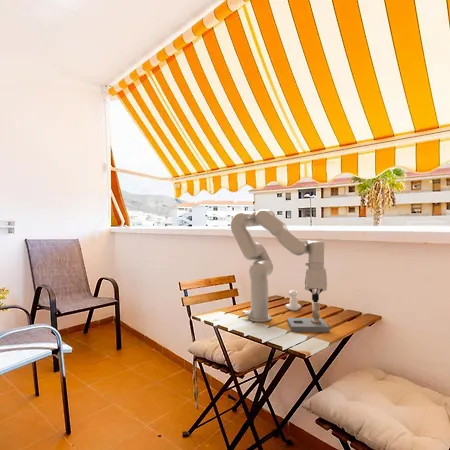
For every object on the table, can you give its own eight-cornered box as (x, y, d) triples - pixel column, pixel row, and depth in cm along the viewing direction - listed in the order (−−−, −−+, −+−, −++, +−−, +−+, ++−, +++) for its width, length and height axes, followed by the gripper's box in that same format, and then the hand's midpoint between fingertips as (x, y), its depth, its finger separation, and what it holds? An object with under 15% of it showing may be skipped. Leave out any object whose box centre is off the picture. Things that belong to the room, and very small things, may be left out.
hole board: (291, 331, 155) (291, 326, 155) (287, 322, 169) (287, 317, 169) (329, 332, 154) (329, 326, 154) (321, 322, 168) (321, 317, 168)
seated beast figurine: (301, 307, 197) (301, 288, 197) (302, 311, 188) (302, 291, 188) (285, 307, 198) (285, 287, 198) (286, 311, 190) (286, 290, 190)
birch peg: (313, 328, 159) (313, 304, 159) (311, 325, 163) (311, 302, 163) (320, 328, 159) (320, 304, 159) (318, 326, 163) (318, 302, 163)
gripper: (302, 266, 157) (301, 303, 158) (333, 267, 157) (332, 304, 157) (299, 264, 165) (298, 299, 165) (328, 264, 164) (328, 300, 165)
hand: (315, 301), depth 161 cm, fingers closed
